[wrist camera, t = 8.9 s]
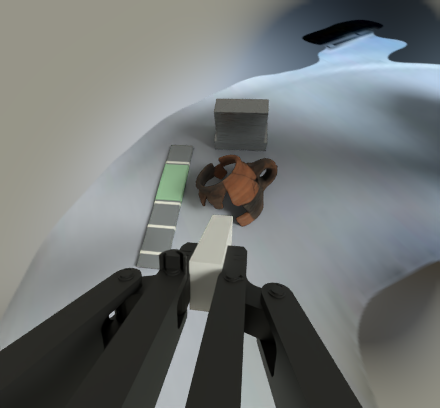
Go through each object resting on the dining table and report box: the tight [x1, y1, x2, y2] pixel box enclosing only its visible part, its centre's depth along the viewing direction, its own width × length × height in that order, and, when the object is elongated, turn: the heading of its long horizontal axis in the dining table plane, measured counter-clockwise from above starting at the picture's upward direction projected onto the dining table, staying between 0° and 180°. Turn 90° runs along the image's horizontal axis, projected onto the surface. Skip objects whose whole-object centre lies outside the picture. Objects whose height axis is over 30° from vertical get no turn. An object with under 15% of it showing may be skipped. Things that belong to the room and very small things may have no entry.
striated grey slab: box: [214, 99, 269, 151], centre depth 38 cm, size 5×9×8 cm, turn 83°
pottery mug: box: [196, 155, 278, 226], centre depth 33 cm, size 12×10×8 cm
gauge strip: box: [137, 145, 193, 269], centre depth 36 cm, size 22×4×1 cm, turn 173°
